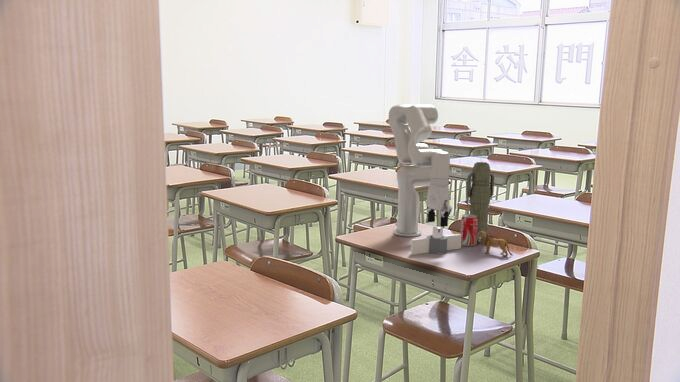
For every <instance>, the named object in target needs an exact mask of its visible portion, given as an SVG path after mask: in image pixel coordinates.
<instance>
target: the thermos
mask: <svg viewBox="0 0 680 382" xmlns="http://www.w3.org/2000/svg"><path fill="white" fill-rule="evenodd" d="M466 183H467V185H466V186H467V187H466V197H467V198H469V199H468V200H469V201H468V202H469V214H473V215H476V216H477V219H478V229H477V237H478V232H480V231H485V232H487V233H488V234H489V229H490V228H489V225H488V224H489V223H488V222H489V208H490V207H489V205H490V203H491V198H492V197H494V191H495V176H494V174H493V173H491V167H490V163H488V162H486V161H477V162H475V163H474V165H473V167H472V171H471V172H470V173H469V174H468V175H467V181H466ZM476 245H482V243H481V242H479V240H478V238H477V244H476Z"/></svg>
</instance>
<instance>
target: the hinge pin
mask: <svg viewBox="0 0 680 382" xmlns="http://www.w3.org/2000/svg"><path fill="white" fill-rule="evenodd" d="M443 231H444V227H441V226H437V225H436V226H435V225H434V226H432V235H433V236H432V238H435V239H442V235H443V234H444V233H443Z"/></svg>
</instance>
